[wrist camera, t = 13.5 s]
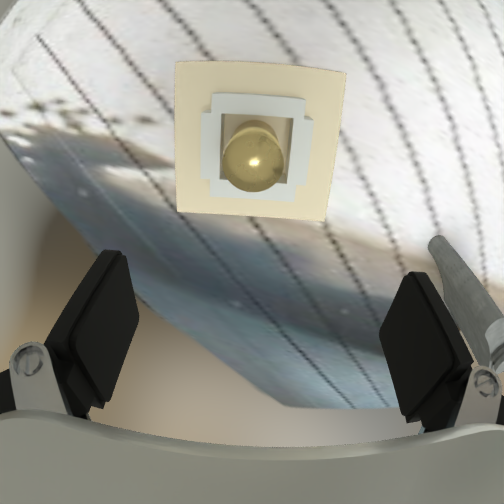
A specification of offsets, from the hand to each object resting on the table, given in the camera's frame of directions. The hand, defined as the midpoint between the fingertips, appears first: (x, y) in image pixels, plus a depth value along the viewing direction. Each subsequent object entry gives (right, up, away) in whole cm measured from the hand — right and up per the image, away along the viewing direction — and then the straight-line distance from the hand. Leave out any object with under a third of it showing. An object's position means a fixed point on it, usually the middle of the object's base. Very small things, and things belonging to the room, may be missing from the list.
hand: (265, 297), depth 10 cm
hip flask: (+31, -1, +32) cm, 45 cm away
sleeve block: (0, +14, +23) cm, 27 cm away
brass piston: (0, +13, +22) cm, 26 cm away
